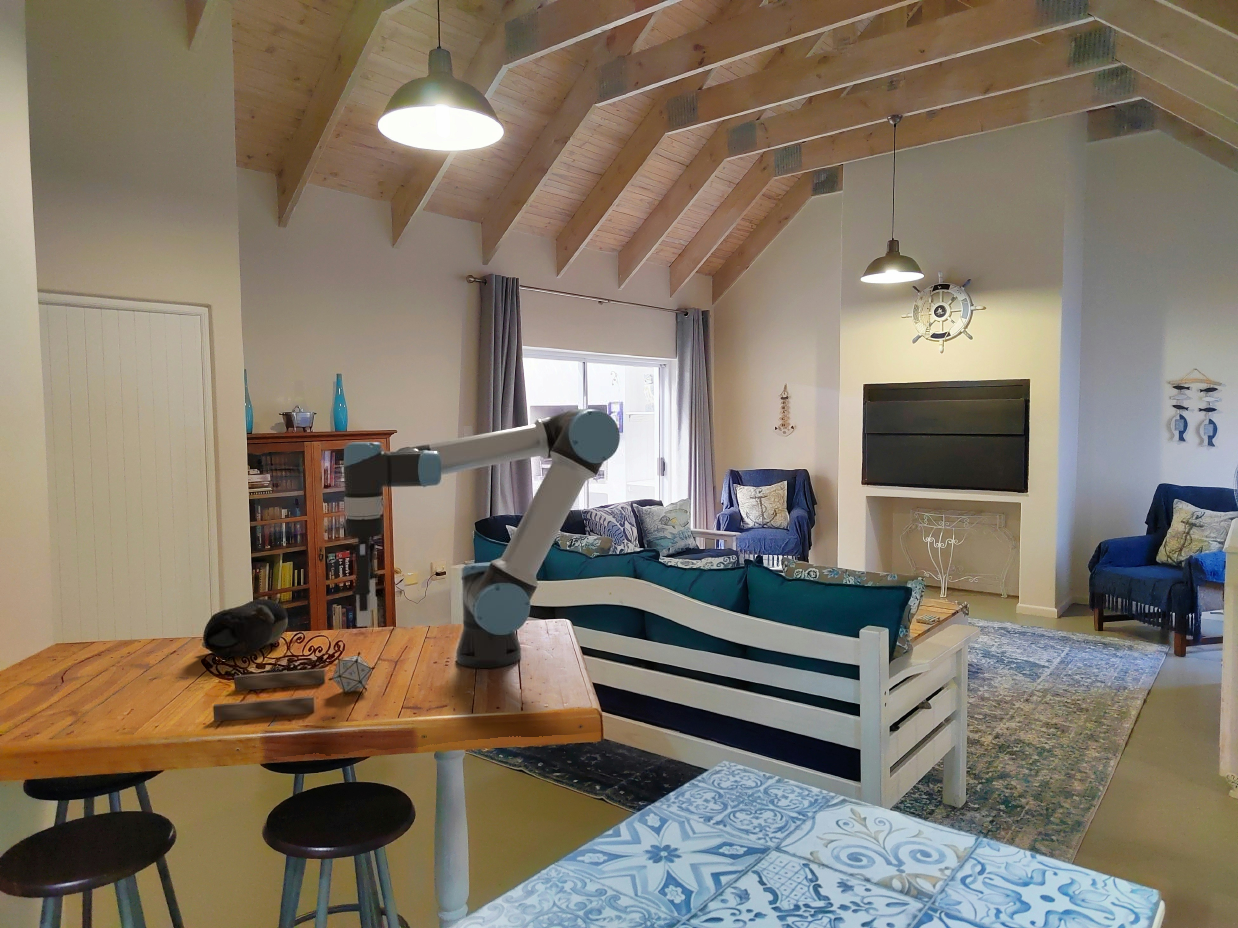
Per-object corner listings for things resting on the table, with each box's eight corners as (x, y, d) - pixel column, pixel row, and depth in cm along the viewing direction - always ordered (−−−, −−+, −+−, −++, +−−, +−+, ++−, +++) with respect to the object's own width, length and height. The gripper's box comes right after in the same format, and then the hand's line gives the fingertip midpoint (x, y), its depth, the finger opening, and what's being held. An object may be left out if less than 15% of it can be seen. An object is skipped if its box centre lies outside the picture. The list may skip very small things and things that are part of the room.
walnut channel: (325, 681, 173) (324, 668, 173) (313, 712, 156) (313, 697, 156) (235, 689, 169) (235, 675, 169) (213, 721, 152) (213, 706, 152)
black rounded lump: (200, 683, 189) (174, 634, 188) (253, 652, 209) (229, 607, 209) (267, 651, 185) (240, 600, 184) (314, 622, 206) (289, 577, 205)
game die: (360, 709, 167) (371, 680, 162) (320, 699, 165) (330, 669, 160) (371, 677, 174) (382, 648, 169) (333, 666, 172) (343, 637, 167)
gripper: (379, 524, 153) (382, 632, 155) (386, 508, 177) (388, 602, 179) (338, 525, 151) (341, 634, 153) (350, 509, 176) (353, 604, 177)
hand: (366, 617), depth 166 cm, fingers open, 13 cm apart
